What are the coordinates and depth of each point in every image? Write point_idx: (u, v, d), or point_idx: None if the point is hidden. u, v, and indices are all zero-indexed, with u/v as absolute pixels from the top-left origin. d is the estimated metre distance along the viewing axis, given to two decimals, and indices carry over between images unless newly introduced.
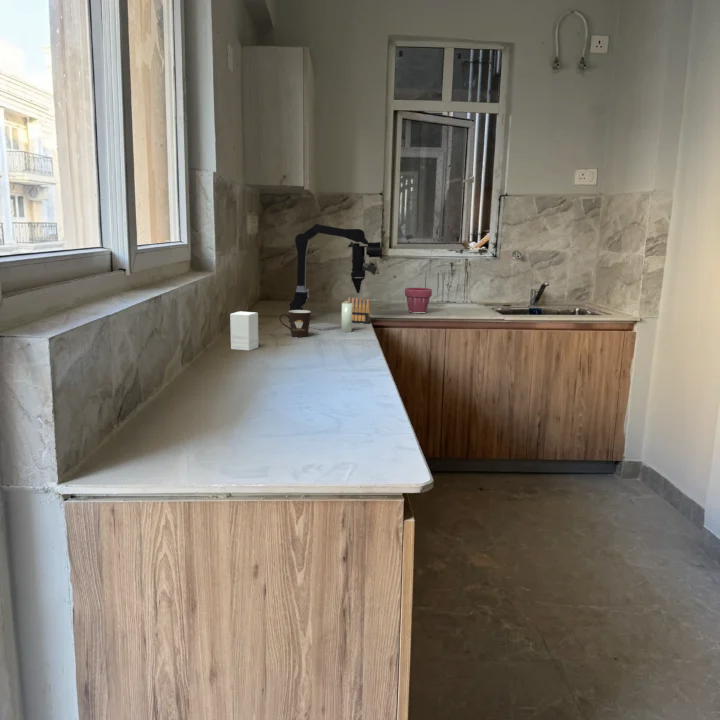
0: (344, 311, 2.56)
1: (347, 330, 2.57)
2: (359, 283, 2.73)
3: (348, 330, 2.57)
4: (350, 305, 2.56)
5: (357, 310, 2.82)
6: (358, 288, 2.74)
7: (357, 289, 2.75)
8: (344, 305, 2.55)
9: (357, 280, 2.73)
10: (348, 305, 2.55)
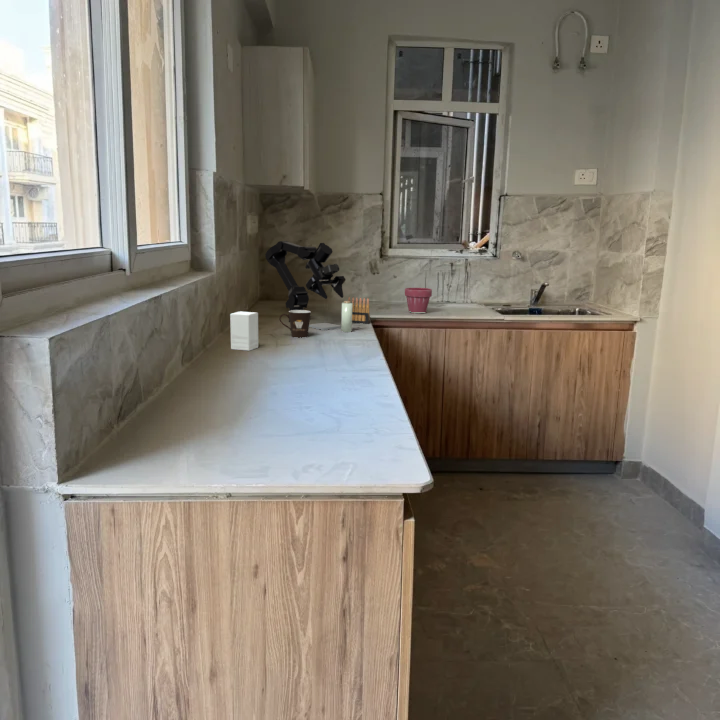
0: (344, 311, 2.56)
1: (347, 330, 2.57)
2: (320, 289, 2.59)
3: (348, 330, 2.57)
4: (350, 305, 2.56)
5: (357, 310, 2.82)
6: (323, 294, 2.59)
7: (323, 295, 2.59)
8: (344, 305, 2.55)
9: (318, 288, 2.60)
10: (348, 305, 2.55)
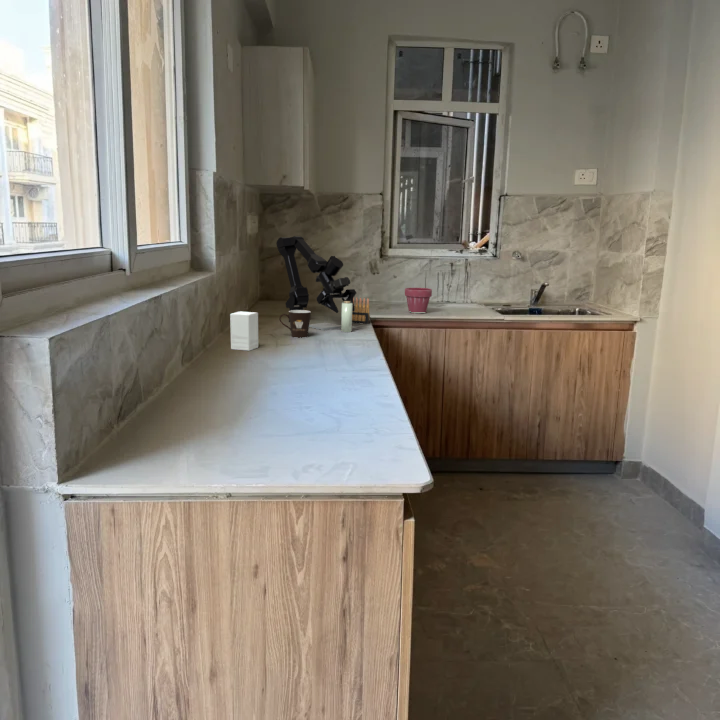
0: (344, 311, 2.56)
1: (347, 330, 2.57)
2: (331, 303, 2.55)
3: (348, 330, 2.57)
4: (350, 305, 2.56)
5: (357, 310, 2.82)
6: (334, 308, 2.55)
7: (334, 309, 2.55)
8: (344, 305, 2.55)
9: (329, 302, 2.56)
10: (348, 305, 2.55)
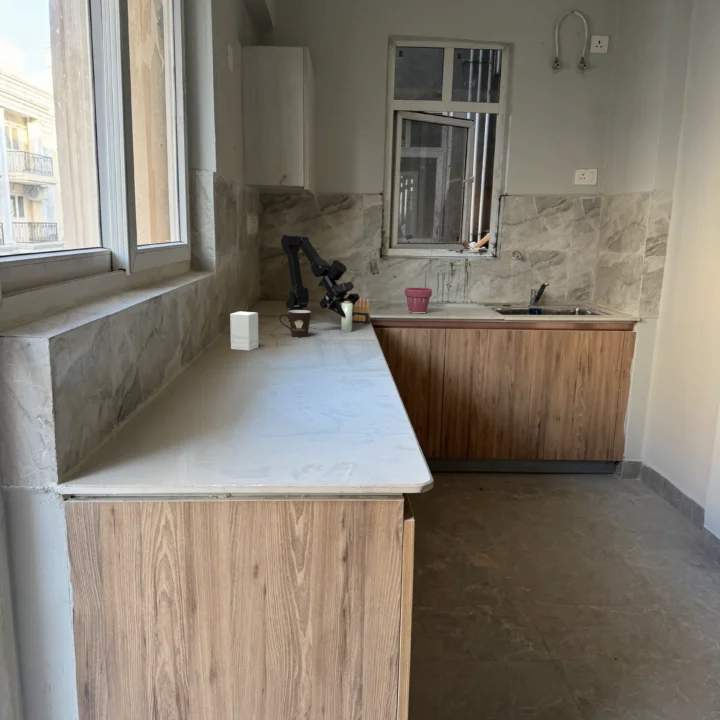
0: (344, 311, 2.56)
1: (347, 330, 2.57)
2: (338, 307, 2.56)
3: (348, 330, 2.57)
4: (350, 305, 2.56)
5: (357, 310, 2.82)
6: (341, 312, 2.56)
7: (341, 314, 2.56)
8: (344, 305, 2.55)
9: (336, 306, 2.57)
10: (348, 305, 2.55)
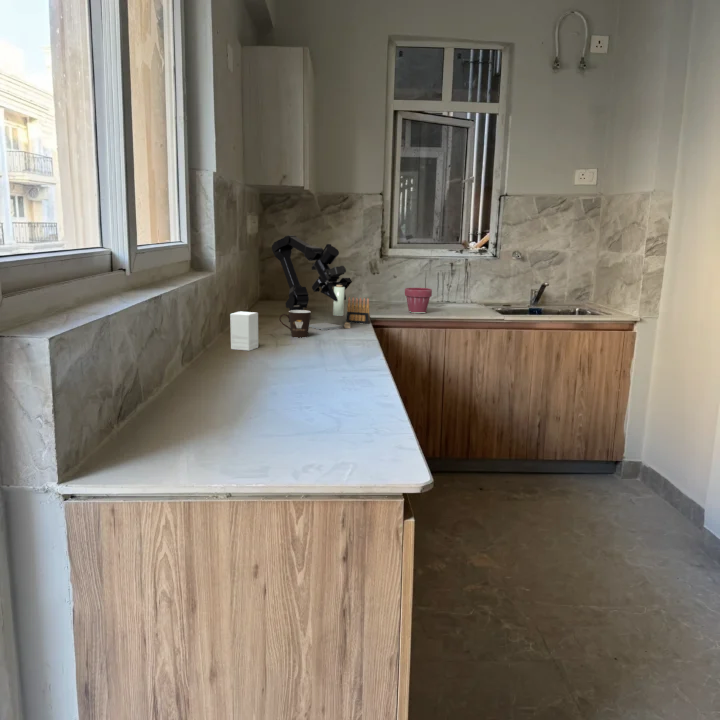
0: (336, 295, 2.58)
1: (339, 314, 2.59)
2: (330, 291, 2.58)
3: (340, 314, 2.59)
4: (342, 289, 2.57)
5: (357, 310, 2.82)
6: (333, 296, 2.58)
7: (333, 297, 2.58)
8: (336, 289, 2.57)
9: (328, 290, 2.59)
10: (340, 289, 2.57)
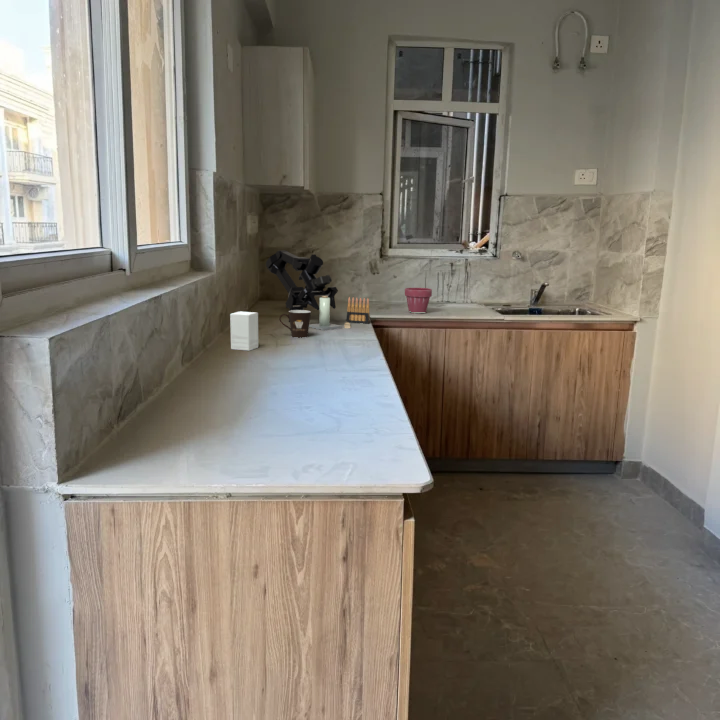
0: (322, 306, 2.64)
1: (325, 324, 2.65)
2: (312, 300, 2.62)
3: (326, 324, 2.65)
4: (327, 300, 2.63)
5: (357, 310, 2.82)
6: (315, 305, 2.62)
7: (315, 307, 2.62)
8: (322, 300, 2.63)
9: (310, 299, 2.63)
10: (325, 300, 2.63)
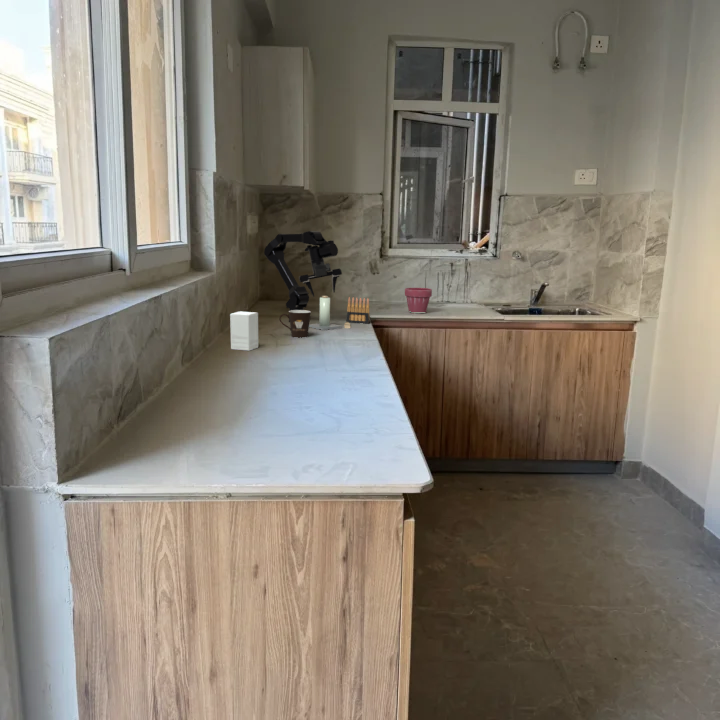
0: (322, 306, 2.64)
1: (325, 324, 2.65)
2: None
3: (326, 324, 2.65)
4: (328, 300, 2.63)
5: (357, 310, 2.82)
6: (311, 292, 2.72)
7: None
8: (322, 300, 2.63)
9: None
10: (326, 300, 2.63)
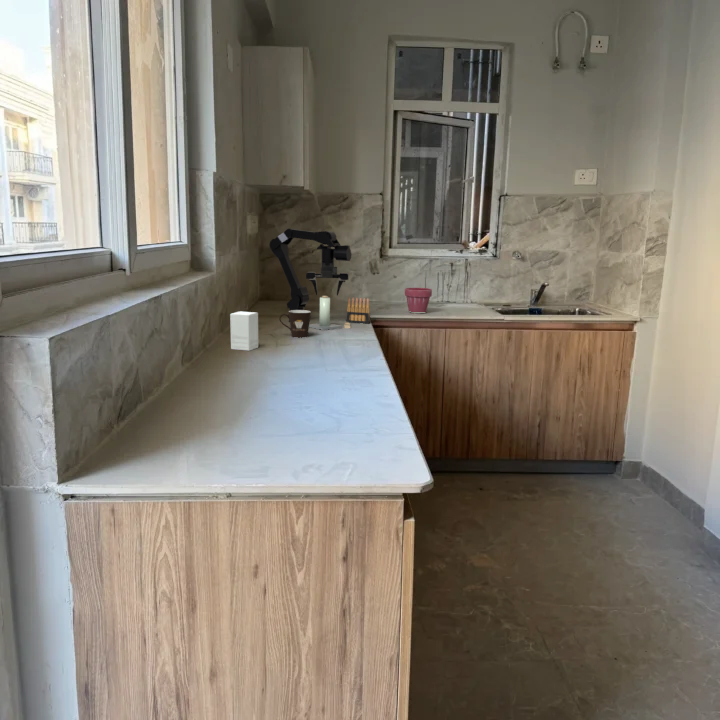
0: (322, 306, 2.64)
1: (325, 324, 2.65)
2: None
3: (326, 324, 2.65)
4: (328, 300, 2.63)
5: (357, 310, 2.82)
6: (315, 290, 2.74)
7: (315, 291, 2.75)
8: (322, 300, 2.63)
9: None
10: (326, 300, 2.63)
